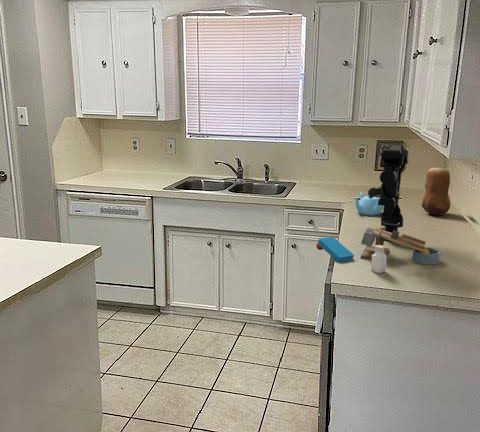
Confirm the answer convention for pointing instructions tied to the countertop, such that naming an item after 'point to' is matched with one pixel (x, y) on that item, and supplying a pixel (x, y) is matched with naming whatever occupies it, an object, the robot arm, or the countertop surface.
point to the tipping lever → (392, 238)
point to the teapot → (368, 205)
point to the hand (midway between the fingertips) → (387, 218)
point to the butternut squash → (437, 191)
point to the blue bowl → (426, 256)
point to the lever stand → (371, 250)
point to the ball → (424, 251)
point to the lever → (334, 249)
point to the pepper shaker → (378, 260)
